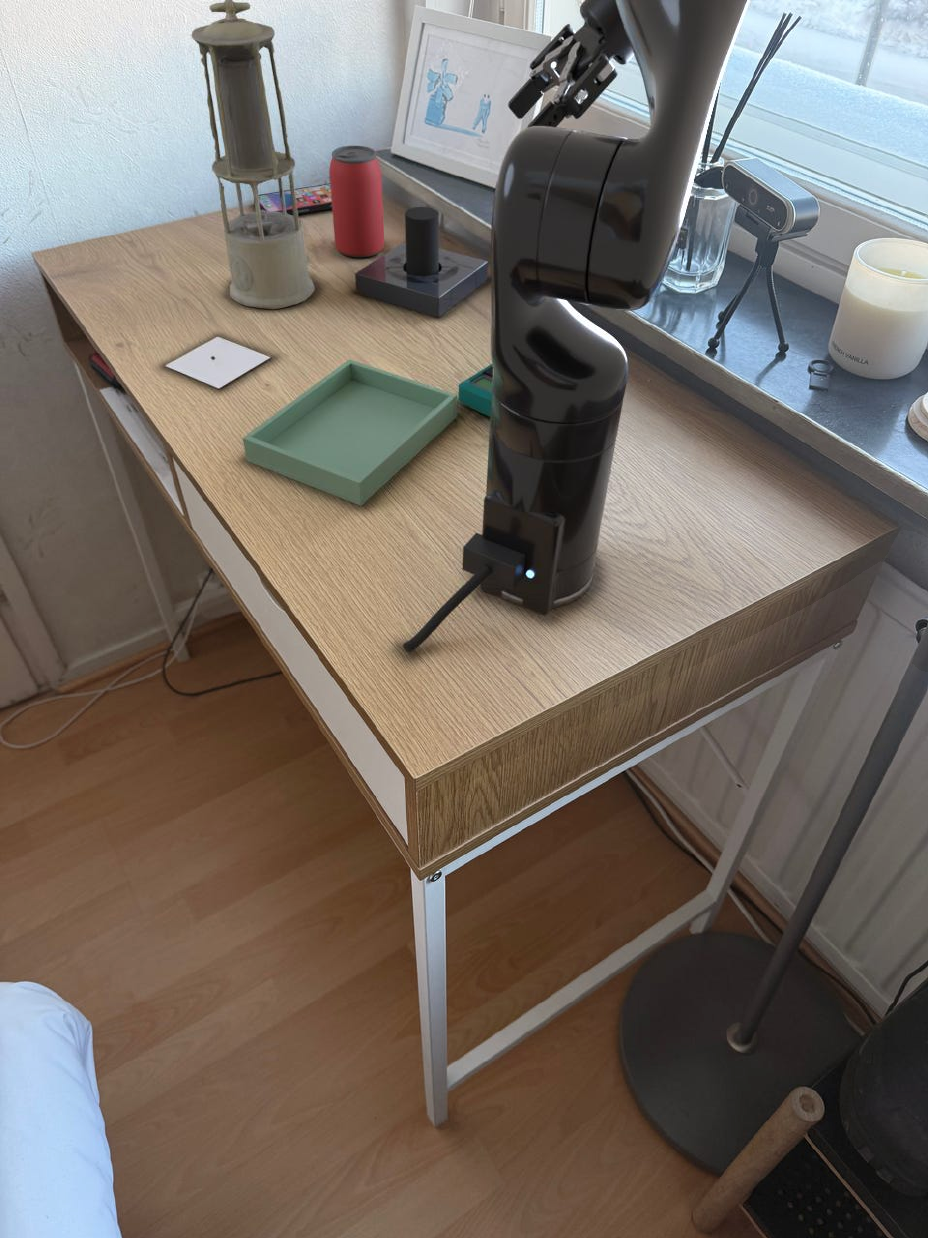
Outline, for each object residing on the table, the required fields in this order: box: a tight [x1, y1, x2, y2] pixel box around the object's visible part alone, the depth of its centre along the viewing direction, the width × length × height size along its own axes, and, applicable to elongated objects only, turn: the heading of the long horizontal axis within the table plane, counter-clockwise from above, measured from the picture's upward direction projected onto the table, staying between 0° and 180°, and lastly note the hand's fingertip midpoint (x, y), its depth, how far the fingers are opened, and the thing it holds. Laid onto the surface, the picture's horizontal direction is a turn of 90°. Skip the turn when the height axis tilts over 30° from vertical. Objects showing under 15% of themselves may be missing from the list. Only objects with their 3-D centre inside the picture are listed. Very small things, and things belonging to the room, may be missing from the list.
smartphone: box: [253, 182, 332, 216], centre depth 127 cm, size 7×1×15 cm
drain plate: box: [354, 240, 489, 319], centre depth 108 cm, size 12×12×2 cm
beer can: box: [328, 145, 385, 258], centre depth 112 cm, size 7×7×12 cm
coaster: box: [164, 336, 271, 389], centre depth 95 cm, size 8×8×1 cm
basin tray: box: [242, 359, 458, 507], centre depth 85 cm, size 17×13×3 cm
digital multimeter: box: [457, 363, 493, 418], centre depth 92 cm, size 7×15×3 cm, turn 142°
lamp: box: [191, 0, 316, 310], centre depth 98 cm, size 10×13×30 cm
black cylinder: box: [404, 206, 440, 276], centre depth 106 cm, size 4×4×9 cm
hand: (522, 124), depth 98 cm, fingers open, 8 cm apart
